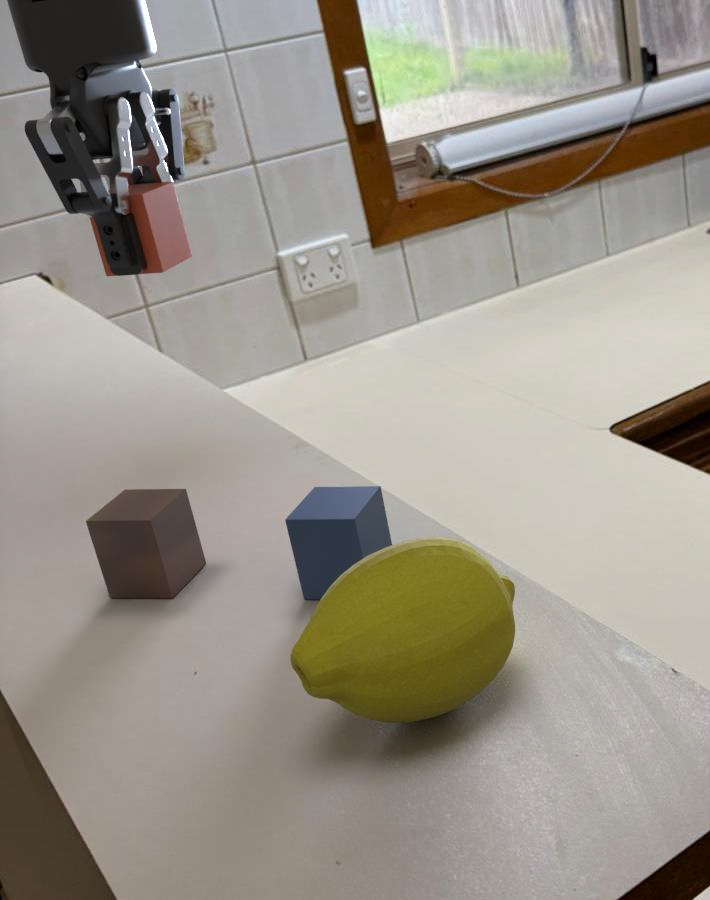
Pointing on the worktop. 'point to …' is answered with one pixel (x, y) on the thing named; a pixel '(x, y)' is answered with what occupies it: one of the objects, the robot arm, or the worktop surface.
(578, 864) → the worktop surface
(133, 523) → the walnut block
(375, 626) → the lemon
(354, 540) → the slate block
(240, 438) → the worktop surface
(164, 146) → the robot arm
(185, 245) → the terracotta block
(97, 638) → the worktop surface
